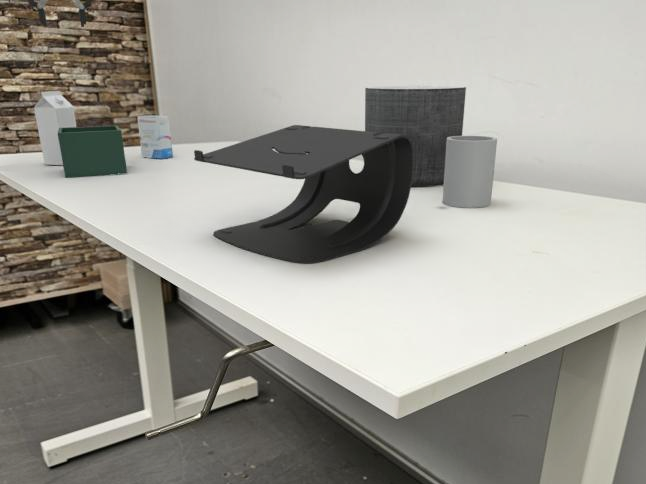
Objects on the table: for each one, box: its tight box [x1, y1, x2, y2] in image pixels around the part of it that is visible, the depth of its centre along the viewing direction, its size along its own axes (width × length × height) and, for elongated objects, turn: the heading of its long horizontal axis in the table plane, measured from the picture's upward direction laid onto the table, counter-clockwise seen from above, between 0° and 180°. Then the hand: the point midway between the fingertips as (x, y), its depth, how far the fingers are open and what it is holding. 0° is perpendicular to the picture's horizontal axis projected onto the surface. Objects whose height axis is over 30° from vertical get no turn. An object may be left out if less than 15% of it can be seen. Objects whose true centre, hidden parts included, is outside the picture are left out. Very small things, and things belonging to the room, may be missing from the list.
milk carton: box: [33, 90, 78, 166], centre depth 166 cm, size 7×7×19 cm
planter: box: [364, 84, 467, 187], centre depth 138 cm, size 22×22×20 cm
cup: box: [442, 135, 498, 209], centre depth 115 cm, size 9×9×12 cm
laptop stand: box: [193, 124, 413, 264], centre depth 93 cm, size 26×24×16 cm
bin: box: [58, 125, 128, 179], centre depth 155 cm, size 15×15×10 cm
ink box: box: [136, 115, 174, 160], centre depth 178 cm, size 9×5×12 cm, turn 59°
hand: (64, 26), depth 150 cm, fingers open, 8 cm apart
